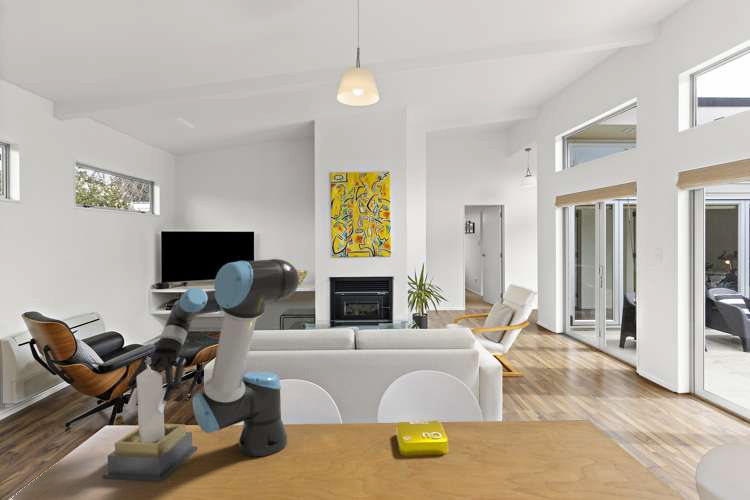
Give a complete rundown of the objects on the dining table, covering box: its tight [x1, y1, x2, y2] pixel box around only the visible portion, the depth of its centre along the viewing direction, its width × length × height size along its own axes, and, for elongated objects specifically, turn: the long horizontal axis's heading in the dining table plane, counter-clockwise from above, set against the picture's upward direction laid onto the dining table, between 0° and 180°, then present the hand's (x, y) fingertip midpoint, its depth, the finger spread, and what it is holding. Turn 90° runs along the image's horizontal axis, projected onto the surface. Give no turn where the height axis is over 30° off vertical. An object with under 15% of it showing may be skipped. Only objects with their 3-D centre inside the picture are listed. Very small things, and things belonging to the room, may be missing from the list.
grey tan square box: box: [102, 423, 198, 483], centre depth 128 cm, size 18×18×9 cm
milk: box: [137, 364, 165, 443], centre depth 128 cm, size 6×6×22 cm
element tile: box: [395, 420, 449, 457], centre depth 136 cm, size 15×15×5 cm
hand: (143, 411), depth 124 cm, fingers closed on milk, 8 cm apart
